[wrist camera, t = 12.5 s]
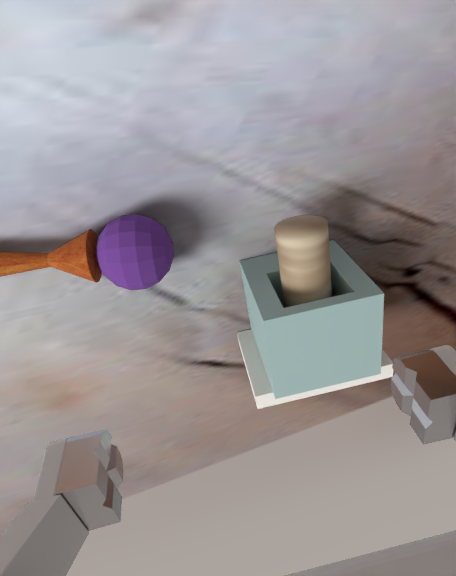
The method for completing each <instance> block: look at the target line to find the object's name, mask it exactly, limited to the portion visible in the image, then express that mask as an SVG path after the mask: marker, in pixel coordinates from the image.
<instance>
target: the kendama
mask: <svg viewBox="0 0 456 576" xmlns="http://www.w3.org/2000/svg"><path fill="white" fill-rule="evenodd" d="M173 257H174V249H173V243H172V241H171V239H170V237H169V235H168V233H167V231H166V229H165V228H164V227H163V226H161V225H160V224H159V223H158V222H157V221H155V220H154V219H151V218H148V217H145V216H142V215H125V216H121V217H119V218H117V219H115V220H113V221H111V222H109V223H108V224H107V226H106V227H105V228H104V230H103V231H102V232H101V233H100V235H99V237H98V238H97V236H96V233H95V232H94V231H93V230H88V231H86V232H85V233H83V234H81V235H79V236H78V237H76V238H74V239H72V240H71V241H69V242H67V243H65V244H64V245H62V246H60V247H58V248H57V249H55V250H53V251H52V252H50V253H23V252H0V277H1V276H6V275H11V274H16V273H21V272H26V271H31V270H36V269H41V268H46V267H53V268H56V269H59V270H62V271H65V272H68V273H70V274H73V275H76V276H79V277H82V278H85V279H88V280H91V281H94V282H98V281H100V278H101V274H102V273H103V275H105V276H106V277H107V278H108V279H109V280H110V281H112V282H113V283H114V284H115V285H116V286H119V287H122V288H125V289H129V290H139V289H147V288H149V287H151V286H153V285H154V284H156V283H158V282H160V281H161V279H162V278H163V277H164V276H165V275H166V274H167V272H168V271H169V270H170V267H171V264H172V260H173Z"/></svg>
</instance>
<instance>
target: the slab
mask: <svg viewBox="0 0 456 576" xmlns="http://www.w3.org/2000/svg"><path fill="white" fill-rule="evenodd" d="M237 335H238V340H239V345H240V348H241V352H242V355H243V359H244V362H245V366H246V370H247V373H248V377H249V380H250V384H251V387H252V391H253V394H254V398H255V401H256V405H257V408H258V409H260V408H264V407H268V406H272V405H277V404H281V403H285V402H289V401H293V400H297V399H302V398H306V397H310V396H314V395H318V394H322V393H327V392H331V391H335V390H339V389H343V388H347V387H352V386H356V385H360V384H364V383H368V382H372V381H377V380H381V379H385V378H389V377H393V368H392V365H393V362H392V361H391V360H390V358H389V357H388V356H387V355H386V353H385V352H384V351H383V349H382V356H381V374H378V375H374V376H370V377H365V378H361V379H357V380H353V381H349V382H345V383H340V384H336V385H332V386H328V387H324V388H319V389H315V390H311V391H307V392H303V393H299V394H294V395H290V396H286V397H282V398H278V399H275V397H274V394H273V391H272V388H271V385H270V382H269V380H268V377H267V374H266V371H265V368H264V365H263V362H262V359H261V356H260V353H259V350H258V347H257V344H256V342H255V339H254V336H253V333H252V330H251V329H250V330H246V331H241V332H237Z"/></svg>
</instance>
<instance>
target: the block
mask: <svg viewBox="0 0 456 576" xmlns="http://www.w3.org/2000/svg"><path fill="white" fill-rule="evenodd" d="M329 250H330V268H331V287H332V297H330V298H326V299H321V300H317V301H312V302H308V303H304V304H299V305H295V306H291V307H286V308H284V300H283V292H282V284H281V276H280V269H279V261H278V253H272V254H268V255H263V256H259V257H254V258H250V259H245V260H241V261H240V267H241V273H242V278H243V284H244V290H245V296H246V302H247V307H248V313H249V319H250V325H251V330H252V333H253V336H254V339H255V342H256V344H257V347H258V350H259V353H260V356H261V359H262V362H263V365H264V368H265V371H266V374H267V377H268V380H269V382H270V385H271V388H272V391H273V394H274V397H275V399H278V398H282V397H286V396H290V395H294V394H299V393H303V392H307V391H311V390H315V389H319V388H324V387H328V386H332V385H336V384H340V383H345V382H349V381H353V380H357V379H361V378H365V377H370V376H374V375H378V374H381V356H382V332H383V309H384V293H383V292H382V291H381V290H380V288H379V287H378V286H377V285H376V284H375V283H374V282H373V281H372V280H371V279H370V278H369V277H368V276H367V275H366V274H365V273H364V271H363V270H362V269H361V268H360V267H359V266H358V265H357V264H356V263H355V262H354V261H353V260H352V259H351V258H350V257H349V256H348V254H347V253H346V252H345V251H344V250H343V249H342V248H341V247H340V246H339V245H338V244H337V243H336V242H335V241H334V240H331V241H329Z"/></svg>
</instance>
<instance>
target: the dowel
mask: <svg viewBox="0 0 456 576" xmlns="http://www.w3.org/2000/svg"><path fill="white" fill-rule="evenodd" d="M275 237H276V245H277V253H278V261H279V269H280V276H281V284H282V292H283V300H284V308H286V307H291V306H295V305H299V304H304V303H308V302H312V301H317V300H321V299H326V298H330V297H332V287H331V268H330V250H329V231H328V221H327V220H326V219H325V218H323V217H320V216H315V215H300V216H294V217H290V218H287V219H284V220H282V221H280V222H279V223H278V224H277V225H276V226H275Z"/></svg>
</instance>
